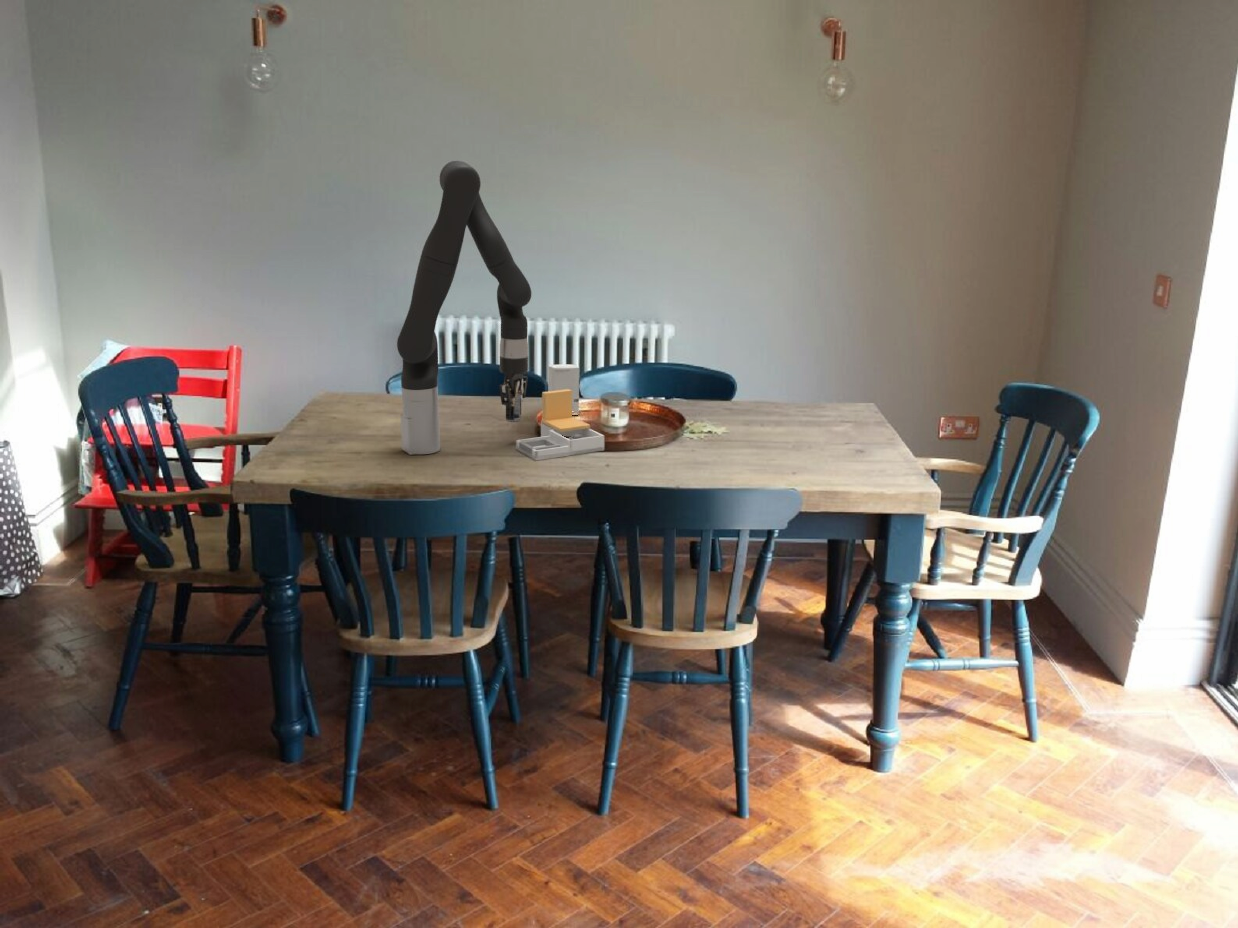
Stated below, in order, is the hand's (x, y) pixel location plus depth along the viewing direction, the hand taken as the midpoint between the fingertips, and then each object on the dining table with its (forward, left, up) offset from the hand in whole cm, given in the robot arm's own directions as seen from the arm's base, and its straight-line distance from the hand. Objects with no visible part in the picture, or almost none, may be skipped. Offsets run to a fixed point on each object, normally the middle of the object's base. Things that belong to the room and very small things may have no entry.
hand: (513, 417), depth 303 cm
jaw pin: (0, 0, -1) cm, 1 cm away
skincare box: (+26, +22, -8) cm, 35 cm away
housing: (+8, -8, -7) cm, 13 cm away
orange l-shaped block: (+14, -4, -3) cm, 14 cm away
